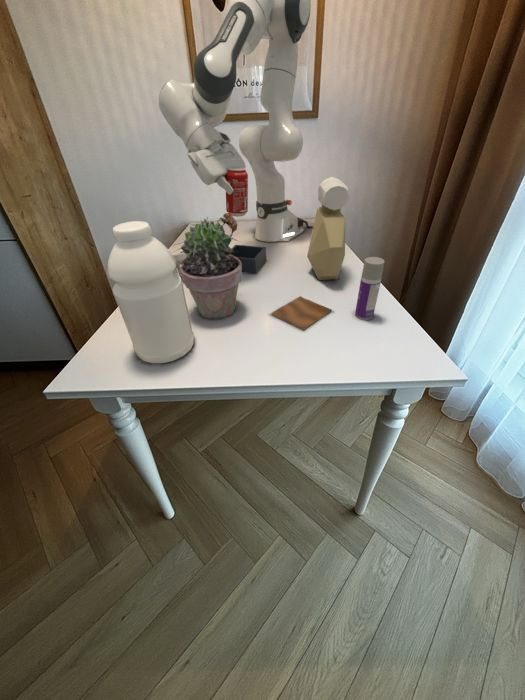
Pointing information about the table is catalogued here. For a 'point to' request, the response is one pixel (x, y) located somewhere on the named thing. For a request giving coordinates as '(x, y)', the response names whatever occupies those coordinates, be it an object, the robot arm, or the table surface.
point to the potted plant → (211, 267)
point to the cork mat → (301, 312)
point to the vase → (329, 230)
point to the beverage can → (237, 191)
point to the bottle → (149, 294)
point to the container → (369, 287)
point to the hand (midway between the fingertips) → (238, 190)
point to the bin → (250, 257)
